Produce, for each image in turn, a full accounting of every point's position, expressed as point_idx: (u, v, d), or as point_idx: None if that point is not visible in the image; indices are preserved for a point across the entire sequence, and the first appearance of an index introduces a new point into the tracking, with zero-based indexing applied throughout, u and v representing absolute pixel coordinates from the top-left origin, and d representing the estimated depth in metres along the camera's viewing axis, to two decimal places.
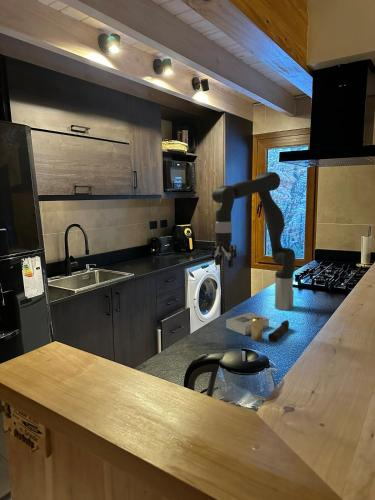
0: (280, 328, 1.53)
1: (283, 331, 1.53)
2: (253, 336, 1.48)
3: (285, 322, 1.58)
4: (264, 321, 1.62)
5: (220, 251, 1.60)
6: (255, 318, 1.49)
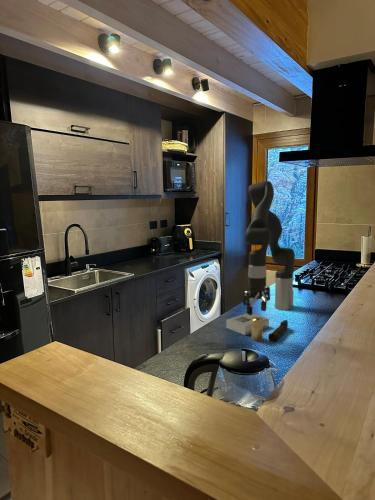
0: (280, 328, 1.53)
1: (283, 331, 1.53)
2: (253, 336, 1.48)
3: (284, 322, 1.58)
4: (264, 321, 1.62)
5: (257, 297, 1.46)
6: (255, 318, 1.49)
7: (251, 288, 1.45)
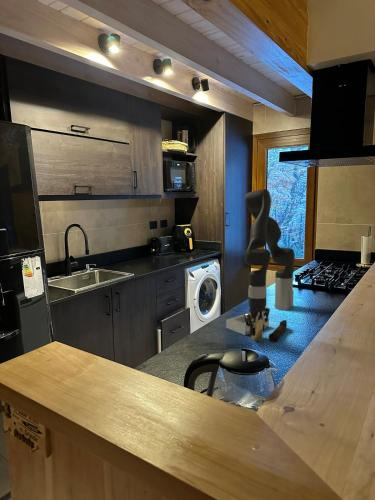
0: (279, 328, 1.53)
1: (282, 331, 1.53)
2: (253, 336, 1.48)
3: (283, 322, 1.58)
4: None
5: None
6: None
7: (251, 308, 1.46)
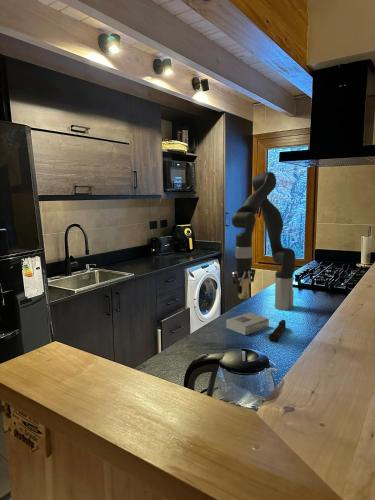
0: (279, 328, 1.53)
1: (282, 331, 1.53)
2: (240, 294, 1.60)
3: (282, 321, 1.58)
4: (264, 321, 1.62)
5: (243, 276, 1.58)
6: None
7: (238, 268, 1.57)
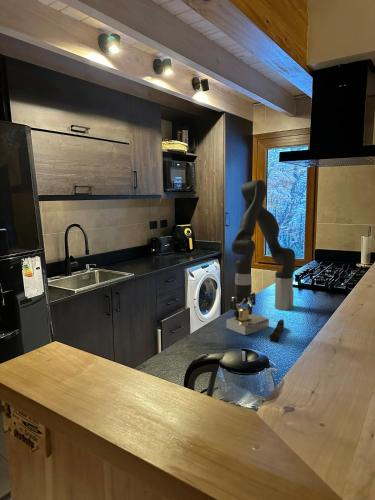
0: (278, 328, 1.53)
1: (281, 330, 1.54)
2: None
3: (281, 321, 1.59)
4: (264, 321, 1.62)
5: (243, 302, 1.60)
6: (241, 308, 1.63)
7: (238, 294, 1.59)
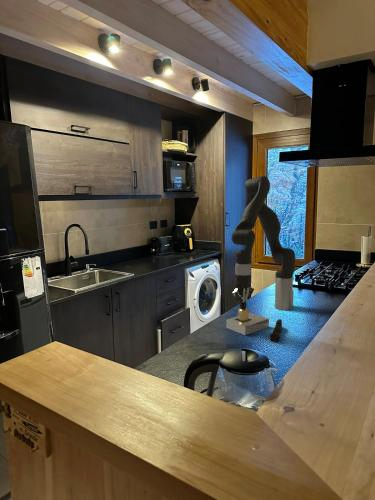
0: (277, 327, 1.53)
1: (280, 330, 1.54)
2: None
3: (279, 321, 1.59)
4: (264, 321, 1.62)
5: None
6: None
7: (237, 284, 1.58)
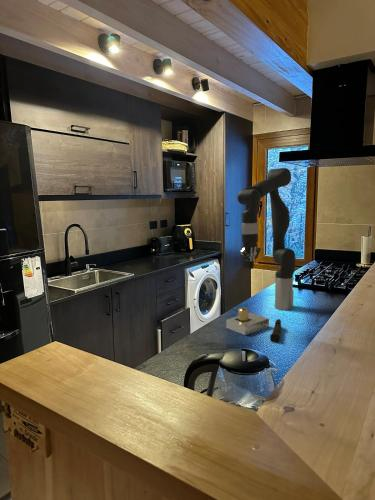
0: (277, 327, 1.54)
1: (280, 330, 1.54)
2: None
3: (278, 321, 1.59)
4: (264, 321, 1.62)
5: None
6: (241, 308, 1.63)
7: (245, 244, 1.61)
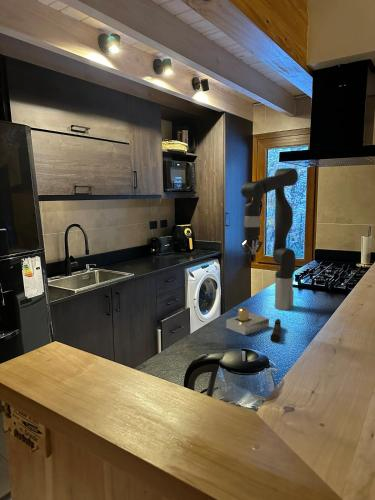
0: (277, 327, 1.54)
1: None
2: None
3: (278, 321, 1.59)
4: (264, 321, 1.62)
5: None
6: (241, 308, 1.63)
7: (247, 236, 1.63)
